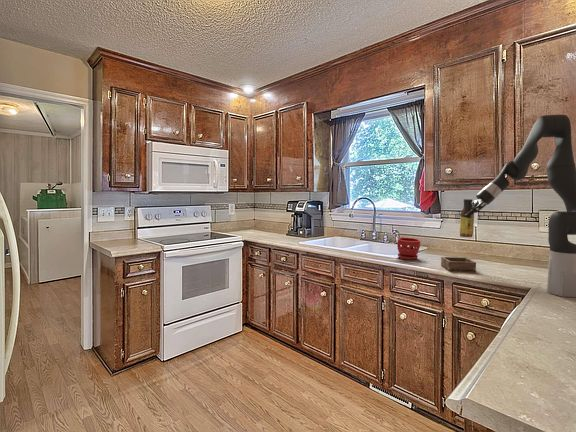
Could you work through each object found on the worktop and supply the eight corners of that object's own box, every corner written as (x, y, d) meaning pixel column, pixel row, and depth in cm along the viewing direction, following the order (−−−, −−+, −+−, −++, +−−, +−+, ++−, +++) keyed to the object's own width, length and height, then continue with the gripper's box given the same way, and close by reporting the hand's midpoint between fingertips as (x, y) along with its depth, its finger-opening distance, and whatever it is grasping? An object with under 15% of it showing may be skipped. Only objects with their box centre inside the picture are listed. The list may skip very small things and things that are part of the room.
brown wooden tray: (475, 272, 165) (476, 262, 165) (448, 271, 167) (449, 261, 167) (466, 266, 177) (466, 257, 177) (441, 265, 179) (441, 256, 179)
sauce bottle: (469, 238, 166) (470, 199, 165) (457, 236, 171) (458, 199, 170) (475, 237, 170) (477, 199, 169) (463, 235, 175) (464, 198, 174)
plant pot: (396, 259, 194) (397, 240, 194) (397, 255, 207) (397, 236, 206) (420, 261, 190) (420, 241, 189) (419, 256, 203) (419, 237, 202)
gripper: (477, 188, 175) (453, 210, 178) (489, 188, 161) (463, 212, 163) (487, 198, 174) (463, 220, 177) (501, 199, 160) (474, 222, 163)
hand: (463, 216), depth 170 cm, fingers closed on sauce bottle, 6 cm apart
